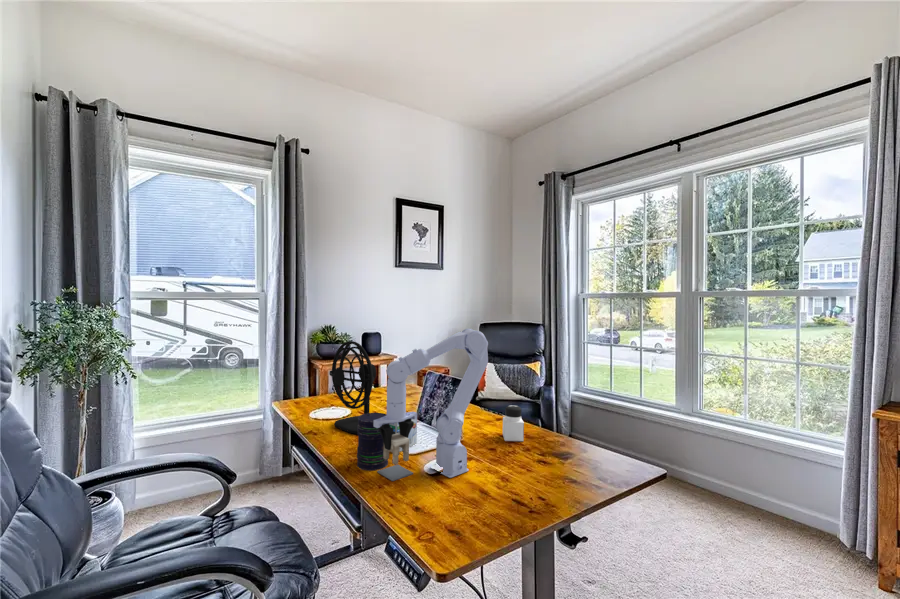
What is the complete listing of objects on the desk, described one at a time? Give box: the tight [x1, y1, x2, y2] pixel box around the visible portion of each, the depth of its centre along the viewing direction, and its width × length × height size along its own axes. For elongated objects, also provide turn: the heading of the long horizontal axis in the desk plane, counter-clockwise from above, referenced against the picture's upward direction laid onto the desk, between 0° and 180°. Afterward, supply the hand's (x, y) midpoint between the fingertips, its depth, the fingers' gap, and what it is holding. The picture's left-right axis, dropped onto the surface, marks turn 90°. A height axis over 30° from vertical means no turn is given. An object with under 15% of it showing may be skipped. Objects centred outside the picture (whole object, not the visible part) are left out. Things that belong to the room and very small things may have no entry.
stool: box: [383, 433, 410, 466], centre depth 123 cm, size 6×5×6 cm
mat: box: [376, 464, 414, 482], centre depth 123 cm, size 8×8×1 cm
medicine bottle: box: [502, 405, 525, 442], centre depth 156 cm, size 7×7×12 cm
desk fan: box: [329, 340, 377, 435], centre depth 166 cm, size 27×18×35 cm, turn 47°
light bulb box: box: [390, 418, 418, 453], centre depth 145 cm, size 11×7×11 cm, turn 143°
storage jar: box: [356, 412, 389, 471], centre depth 130 cm, size 10×10×15 cm
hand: (395, 446), depth 123 cm, fingers closed on stool, 5 cm apart
